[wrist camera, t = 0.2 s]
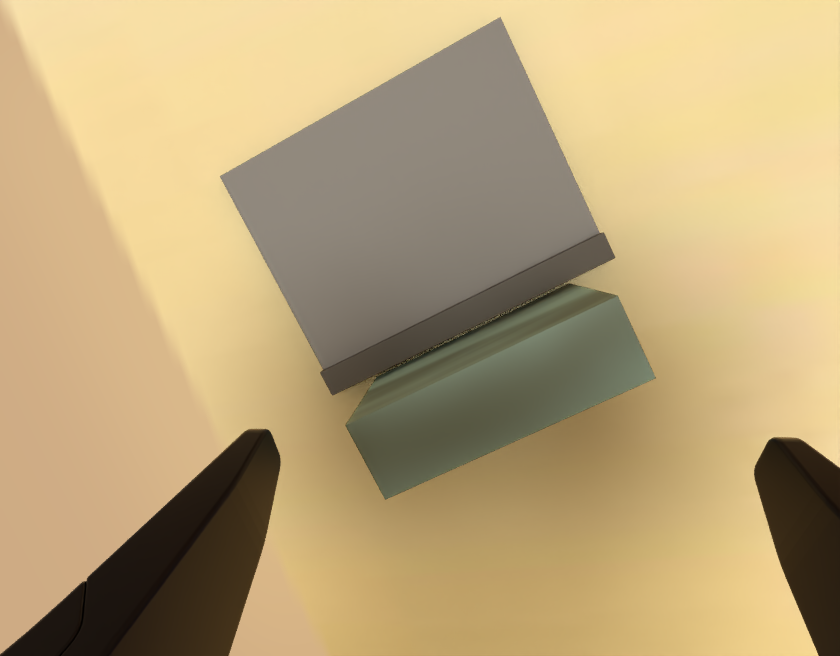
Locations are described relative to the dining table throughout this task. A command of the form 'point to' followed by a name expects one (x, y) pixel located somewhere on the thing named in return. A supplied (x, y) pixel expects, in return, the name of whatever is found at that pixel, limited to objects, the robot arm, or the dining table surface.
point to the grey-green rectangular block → (497, 386)
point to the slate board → (418, 210)
